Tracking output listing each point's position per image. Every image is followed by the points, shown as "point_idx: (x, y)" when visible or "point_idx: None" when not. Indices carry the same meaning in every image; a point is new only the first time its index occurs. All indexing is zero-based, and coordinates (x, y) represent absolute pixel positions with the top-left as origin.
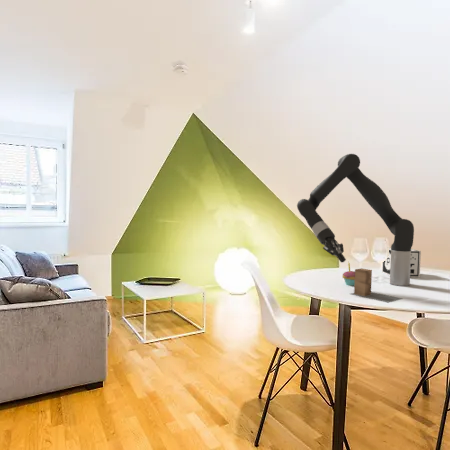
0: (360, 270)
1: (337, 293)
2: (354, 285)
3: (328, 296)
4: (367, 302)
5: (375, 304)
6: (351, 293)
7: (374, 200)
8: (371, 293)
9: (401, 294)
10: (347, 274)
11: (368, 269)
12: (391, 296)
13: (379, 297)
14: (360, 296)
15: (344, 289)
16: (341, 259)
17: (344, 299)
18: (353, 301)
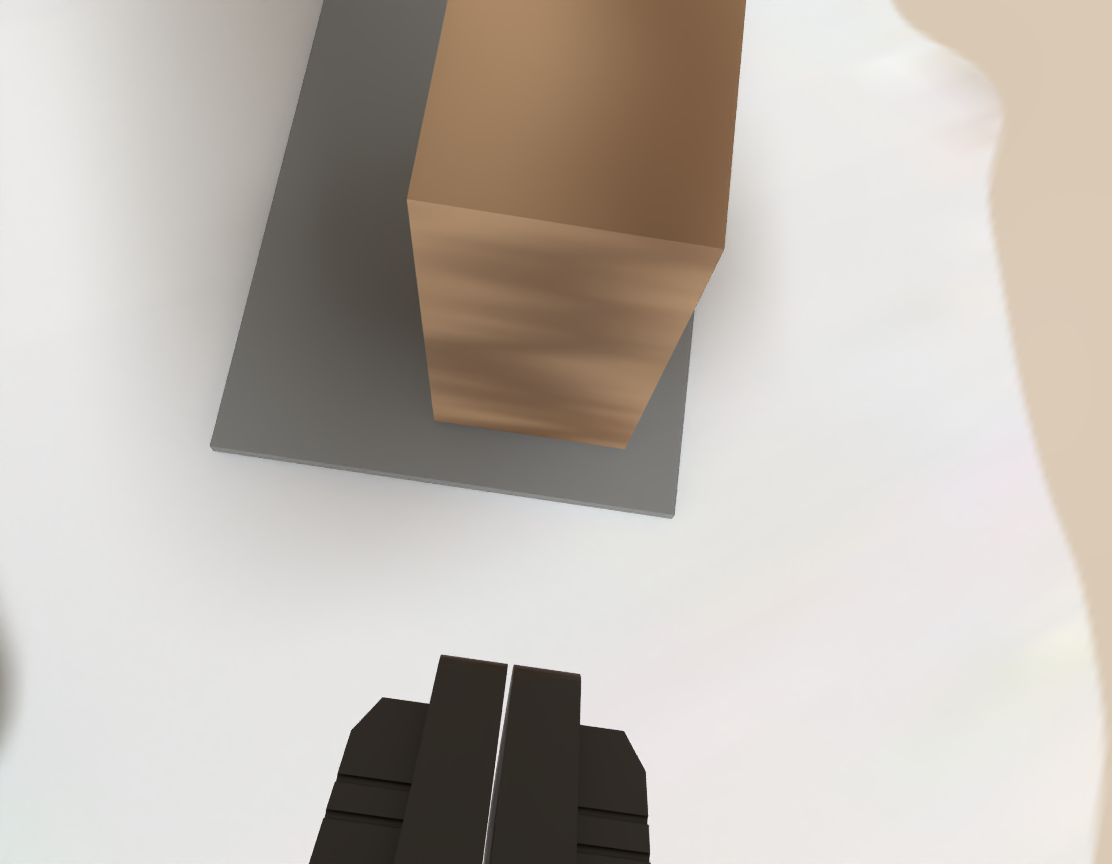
0: (734, 110)
1: (734, 710)
2: (646, 403)
3: (1056, 697)
4: (882, 153)
5: (891, 55)
6: (611, 504)
7: None
8: (352, 285)
9: (7, 4)
10: None
11: (453, 19)
12: (333, 29)
13: None
14: (692, 319)
15: (306, 799)
16: (632, 775)
17: (1003, 428)
18: (994, 293)
